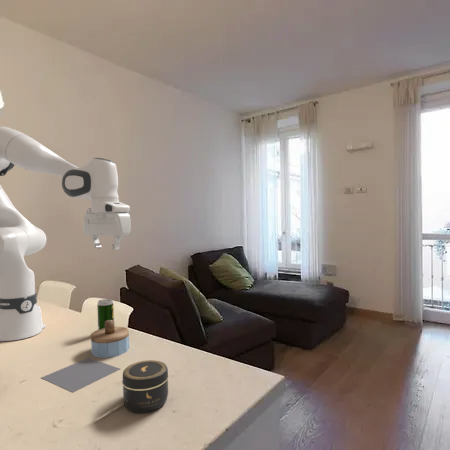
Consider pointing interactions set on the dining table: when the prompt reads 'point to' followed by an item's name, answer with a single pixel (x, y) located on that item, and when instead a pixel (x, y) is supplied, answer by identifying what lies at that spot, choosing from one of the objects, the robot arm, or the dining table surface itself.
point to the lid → (109, 333)
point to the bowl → (110, 348)
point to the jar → (145, 386)
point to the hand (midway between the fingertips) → (106, 249)
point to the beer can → (105, 312)
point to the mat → (80, 374)
